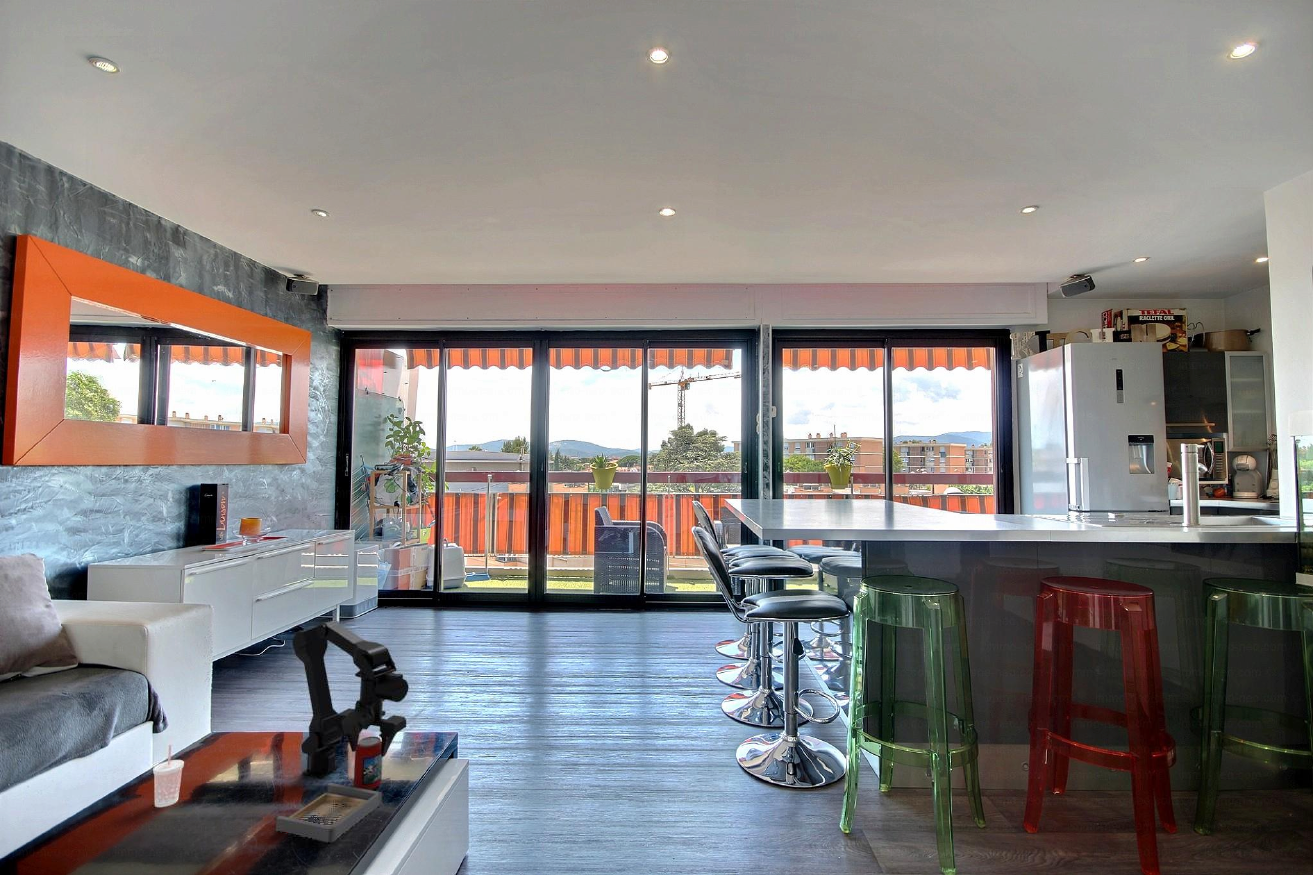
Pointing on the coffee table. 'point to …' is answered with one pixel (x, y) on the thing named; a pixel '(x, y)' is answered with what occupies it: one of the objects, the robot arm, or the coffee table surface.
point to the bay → (340, 827)
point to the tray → (329, 807)
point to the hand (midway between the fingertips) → (368, 753)
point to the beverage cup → (167, 781)
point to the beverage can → (368, 763)
